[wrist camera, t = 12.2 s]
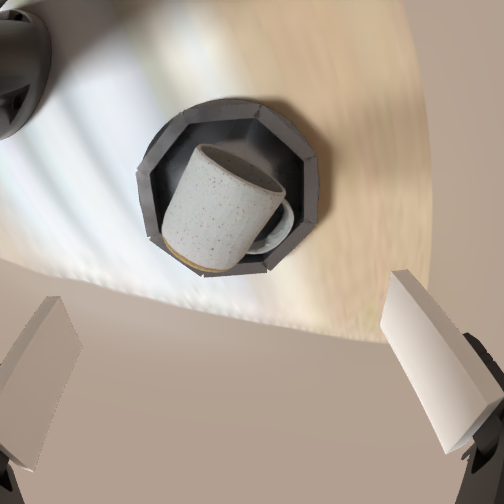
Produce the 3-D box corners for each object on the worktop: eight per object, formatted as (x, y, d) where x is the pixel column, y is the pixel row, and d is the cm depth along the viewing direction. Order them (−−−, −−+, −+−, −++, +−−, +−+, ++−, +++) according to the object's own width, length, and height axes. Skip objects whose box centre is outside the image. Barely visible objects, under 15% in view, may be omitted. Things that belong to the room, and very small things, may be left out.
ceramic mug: (164, 217, 28) (145, 256, 21) (202, 137, 25) (192, 149, 18) (264, 261, 31) (275, 309, 24) (307, 191, 28) (334, 222, 21)
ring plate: (157, 273, 31) (152, 286, 29) (130, 112, 24) (121, 113, 22) (314, 261, 32) (320, 273, 30) (315, 96, 24) (323, 95, 22)
